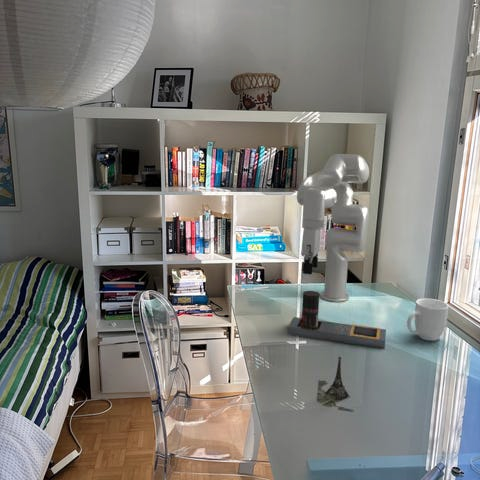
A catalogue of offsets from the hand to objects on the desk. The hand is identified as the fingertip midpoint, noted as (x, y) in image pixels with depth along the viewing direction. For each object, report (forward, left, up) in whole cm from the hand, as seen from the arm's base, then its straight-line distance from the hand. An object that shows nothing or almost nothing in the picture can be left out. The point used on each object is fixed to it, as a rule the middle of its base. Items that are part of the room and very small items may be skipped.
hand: (310, 270), depth 174 cm
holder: (0, +11, -23) cm, 26 cm away
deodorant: (0, +1, -24) cm, 24 cm away
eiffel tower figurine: (+41, +16, -24) cm, 51 cm away
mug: (-10, +42, -24) cm, 49 cm away
